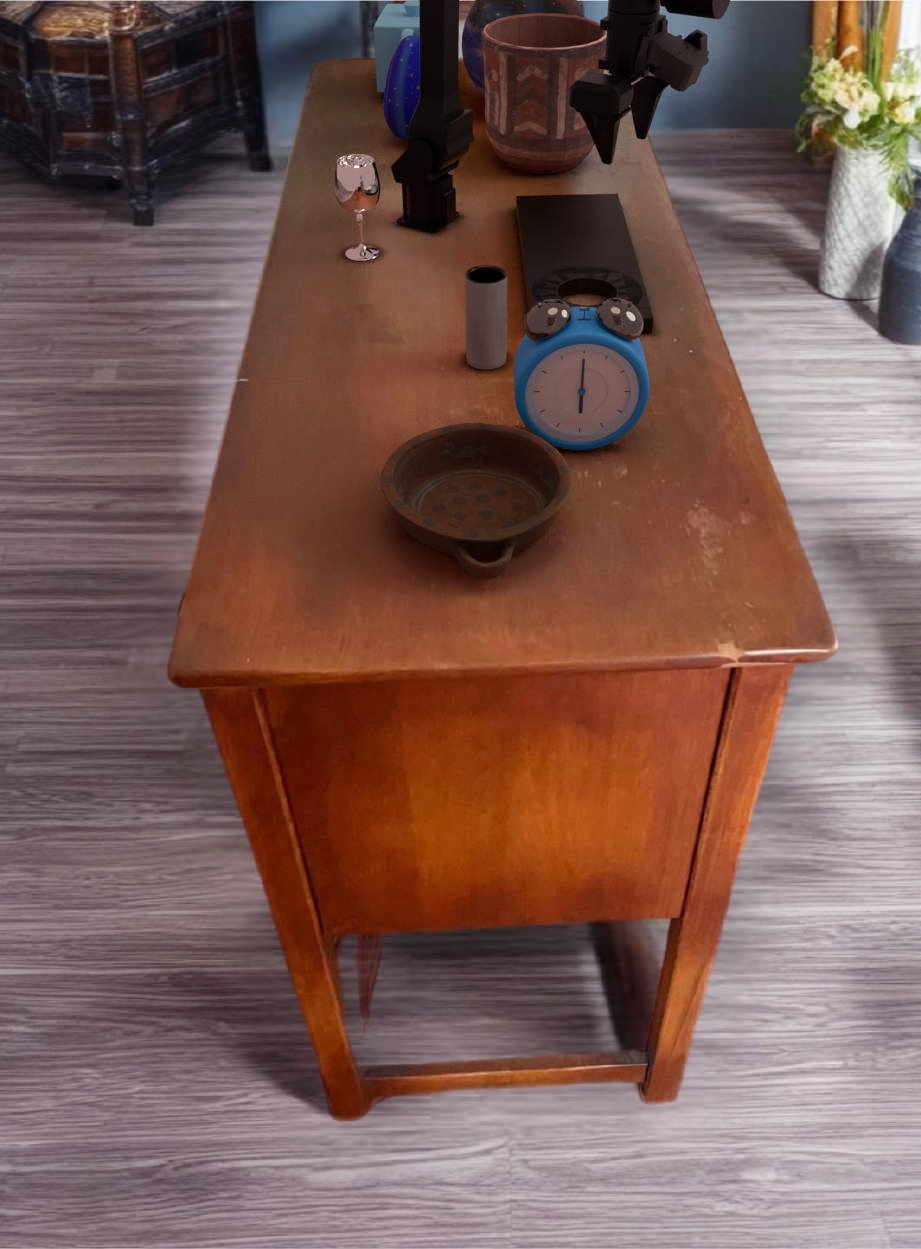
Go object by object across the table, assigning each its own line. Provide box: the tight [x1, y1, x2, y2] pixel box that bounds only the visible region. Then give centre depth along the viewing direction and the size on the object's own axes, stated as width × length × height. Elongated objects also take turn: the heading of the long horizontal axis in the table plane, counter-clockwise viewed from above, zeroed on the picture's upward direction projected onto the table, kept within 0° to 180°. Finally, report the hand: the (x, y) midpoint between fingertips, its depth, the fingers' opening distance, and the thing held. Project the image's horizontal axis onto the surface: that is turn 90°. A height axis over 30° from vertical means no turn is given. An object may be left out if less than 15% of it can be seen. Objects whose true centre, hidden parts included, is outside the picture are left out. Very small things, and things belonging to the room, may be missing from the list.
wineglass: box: [333, 153, 381, 262], centre depth 151 cm, size 6×6×12 cm
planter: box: [464, 264, 508, 371], centre depth 130 cm, size 4×4×10 cm
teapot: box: [373, 0, 420, 93], centre depth 199 cm, size 22×11×14 cm, turn 173°
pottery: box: [482, 13, 607, 175], centre depth 172 cm, size 18×18×18 cm
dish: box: [379, 422, 572, 580], centre depth 110 cm, size 18×22×5 cm
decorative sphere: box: [461, 0, 586, 98], centre depth 188 cm, size 19×20×20 cm
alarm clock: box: [513, 298, 651, 451], centre depth 117 cm, size 13×6×15 cm, turn 89°
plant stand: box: [515, 193, 654, 334], centre depth 150 cm, size 36×14×2 cm, turn 1°
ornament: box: [382, 35, 420, 142], centre depth 180 cm, size 11×9×15 cm
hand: (624, 151), depth 141 cm, fingers open, 9 cm apart
